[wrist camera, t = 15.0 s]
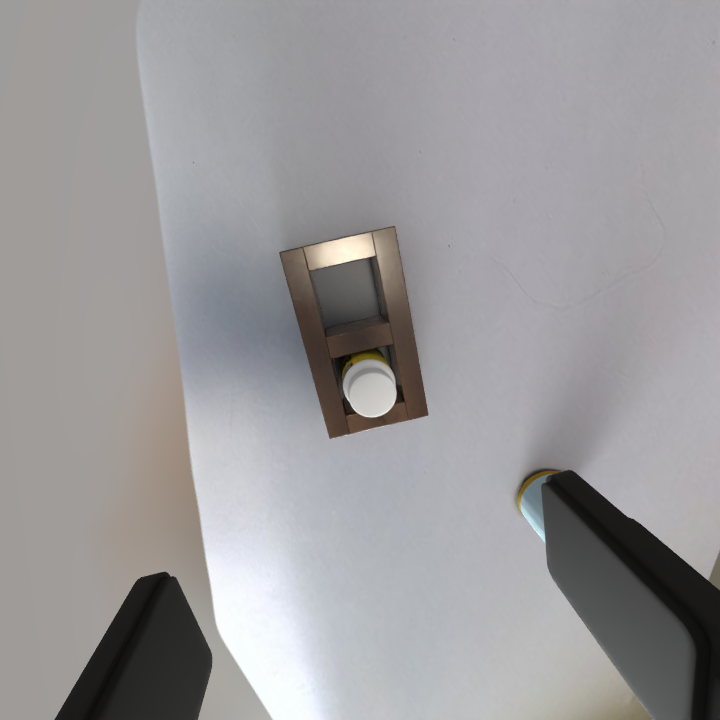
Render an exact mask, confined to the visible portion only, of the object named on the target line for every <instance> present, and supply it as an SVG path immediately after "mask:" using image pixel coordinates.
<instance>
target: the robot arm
mask: <svg viewBox="0 0 720 720" xmlns="http://www.w3.org/2000/svg"><path fill="white" fill-rule="evenodd" d="M541 493H542V505H543V518H544V530H545V542H546V554H547V565H548V569H549V572H550V574H551V576H552V578H553V580H554V581H555V583H556V584H557V586H558V587H559V589H560V590H561V591H562V593H563V594H564V596H565V597H566V598H567V600H568V601H569V603H570V604H571V605H572V607H573V608H574V610H575V611H576V612H577V614H578V615H579V617H580V618H581V619H582V621H583V622H584V624H585V625H586V626H587V628H588V629H589V631H590V632H591V634H592V635H593V636H594V638H595V639H596V641H597V642H598V643H599V645H600V646H601V648H602V649H603V650H604V652H605V653H606V655H607V656H608V657H609V659H610V660H611V662H612V663H613V664H614V666H615V667H616V669H617V670H618V671H619V673H620V674H621V676H622V677H623V678H624V680H625V681H626V683H627V684H628V685H629V687H630V688H631V690H632V691H633V693H634V694H635V695H636V697H637V698H638V700H639V701H640V702H641V704H642V705H643V707H644V708H645V709H646V711H647V712H648V714H649V715H650V716H651V718H652V719H653V720H720V590H718V589H717V588H716V587H715V586H714V585H712V584H711V583H710V582H709V581H708V580H707V579H705V578H704V577H703V576H702V575H701V574H699V573H698V572H697V571H696V570H695V569H693V568H692V567H691V566H690V565H689V564H687V563H686V562H685V561H684V560H683V559H682V558H680V557H679V556H678V555H677V554H676V553H674V552H673V551H672V550H671V549H670V548H668V547H667V546H666V545H665V544H664V543H662V542H661V541H660V540H659V539H658V538H657V537H655V536H654V535H653V534H652V533H651V532H649V531H648V530H647V529H646V528H645V527H643V526H642V525H641V524H640V523H638V522H637V521H635V520H634V519H631V518H628V517H627V516H626V515H624V514H623V513H622V512H621V511H620V510H618V509H617V508H616V507H615V506H614V505H613V504H611V503H610V502H609V501H608V500H607V499H606V498H604V497H603V496H602V495H601V494H600V493H599V492H597V491H596V490H595V489H594V488H593V487H592V486H590V485H589V484H588V483H587V482H586V481H584V480H583V479H582V478H581V477H580V476H579V475H577V474H576V473H575V472H573V471H571V470H568V471H564V472H560V473H556V474H552V475H548V476H547V478H546V483H542V485H541ZM211 668H212V653H211V650H210V648H209V646H208V644H207V642H206V640H205V638H204V636H203V633H202V631H201V629H200V627H199V625H198V623H197V621H196V619H195V617H194V615H193V612H192V610H191V608H190V606H189V604H188V602H187V600H186V597H185V596H184V593H183V591H182V589H181V587H180V585H179V583H178V581H177V579H176V577H174V576H172V577H170V575H169V574H168V573H167V572H161V573H157V574H153V575H149V576H145V577H141V578H140V579H138V580H137V581H136V582H135V584H134V585H133V587H132V589H131V591H130V592H129V594H128V596H127V597H126V599H125V601H124V602H123V604H122V606H121V608H120V609H119V611H118V613H117V614H116V616H115V618H114V620H113V621H112V623H111V625H110V626H109V628H108V630H107V631H106V633H105V635H104V636H103V638H102V640H101V642H100V643H99V645H98V647H97V648H96V650H95V652H94V653H93V655H92V657H91V659H90V660H89V662H88V664H87V665H86V667H85V669H84V670H83V672H82V674H81V676H80V677H79V679H78V681H77V682H76V684H75V686H74V687H73V689H72V691H71V693H70V694H69V696H68V698H67V699H66V701H65V703H64V705H63V706H62V708H61V710H60V711H59V713H58V715H57V717H56V718H55V720H198V716H199V712H200V709H201V705H202V702H203V698H204V695H205V691H206V687H207V684H208V680H209V677H210V673H211Z"/></svg>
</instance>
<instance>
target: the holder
mask: <svg viewBox="0 0 720 720" xmlns="http://www.w3.org/2000/svg"><path fill="white" fill-rule="evenodd" d="M279 254H280V258H281V261H282V265H283V269H284V272H285V276H286V280H287V283H288V287H289V291H290V294H291V298H292V302H293V305H294V309H295V313H296V317H297V320H298V324H299V328H300V331H301V335H302V339H303V342H304V346H305V350H306V353H307V357H308V361H309V364H310V368H311V372H312V375H313V379H314V383H315V386H316V390H317V394H318V397H319V401H320V405H321V409H322V412H323V416H324V420H325V423H326V427H327V431H328V434H329V438H330V439H333V438H337V437H341V436H345V435H349V434H354V433H358V432H362V431H366V430H370V429H374V428H379V427H383V426H387V425H391V424H395V423H399V422H403V421H407V420H412V419H416V418H420V417H424V416H428V409H427V404H426V398H425V393H424V387H423V381H422V376H421V370H420V364H419V359H418V353H417V347H416V342H415V336H414V330H413V325H412V319H411V313H410V308H409V302H408V297H407V291H406V285H405V280H404V274H403V268H402V263H401V257H400V251H399V246H398V240H397V234H396V229H395V226H393V227H388V228H384V229H379V230H375V231H372V232H366V233H362V234H357V235H353V236H348V237H344V238H340V239H335V240H331V241H326V242H322V243H317V244H313V245H309V246H304V247H300V248H295V249H291V250H287V251H282V252H279ZM365 258H371V263H372V268H373V273H374V278H375V283H376V288H377V293H378V298H379V303H380V308H381V313H382V315H380V316H376V317H371V318H367V319H363V320H358V321H354V322H350V323H346V324H341V325H337V326H333V327H328V328H325V324H324V320H323V316H322V312H321V308H320V304H319V300H318V296H317V292H316V288H315V284H314V280H313V276H312V272H311V271H313V270H317V269H321V268H326V267H330V266H334V265H339V264H343V263H348V262H352V261H356V260H361V259H365ZM386 345H388V348H389V353H390V358H391V363H392V368H393V373H394V376H395V382H396V393H397V394H396V400H395V403H394V405H393V406H392V408H391V409H390V410H389V411H388V412H387V413H385V414H383V415H381V416H378V417H365V416H362V415H360V414H359V413H357V412H356V411H355V410H354V409H353V408H352V406H351V404H350V402H349V401H348V400H347V398H344V399H343V396H342V392H341V388H340V384H339V380H338V376H337V372H336V368H335V364H334V360H333V358H336V357H340V356H344V355H348V354H352V353H357V352H361V351H365V350H369V349H374V348H378V347H382V346H386Z"/></svg>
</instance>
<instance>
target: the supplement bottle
mask: <svg viewBox="0 0 720 720" xmlns="http://www.w3.org/2000/svg"><path fill="white" fill-rule="evenodd" d="M341 376H342V384H343V390H344V394H345V396H346V398H347V400H348V401H349V402H350V404H351V406H352V408H353V409H354V410H355V411H356V412H357V413H359V414H360V415H362V416H365V417H378V416H381V415H383V414H385V413H387V412H388V411H389V410H390V409H391V408H392V406H393V405H394V403H395V400H396V394H397V393H396V382H395V376H394V373H393V371H392V370H391V368H390V366H389V365H388V363H387V361H386V359H385V358H384V356H383V354H382V353H381V352H380V351H379V350H378V349H377V348H374V349H369V350H365V351H361V352H357V353H352V354H348V355H344V356H343V358H342V360H341Z"/></svg>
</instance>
